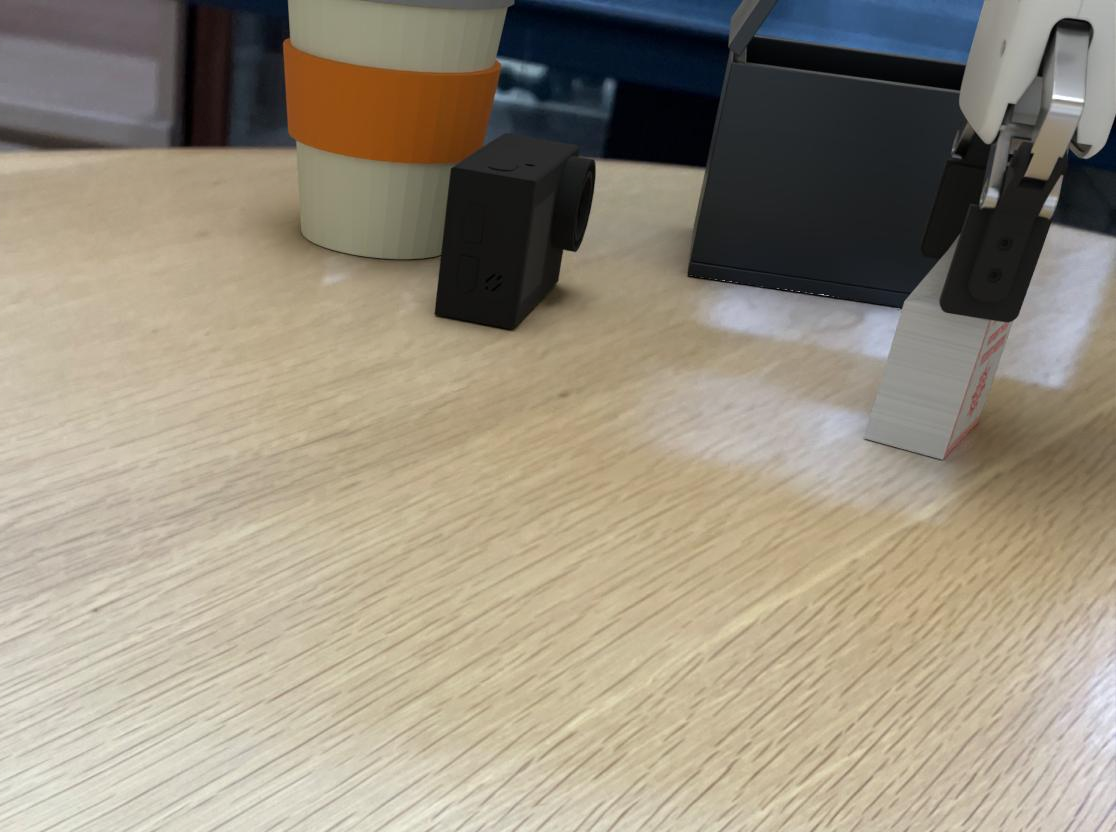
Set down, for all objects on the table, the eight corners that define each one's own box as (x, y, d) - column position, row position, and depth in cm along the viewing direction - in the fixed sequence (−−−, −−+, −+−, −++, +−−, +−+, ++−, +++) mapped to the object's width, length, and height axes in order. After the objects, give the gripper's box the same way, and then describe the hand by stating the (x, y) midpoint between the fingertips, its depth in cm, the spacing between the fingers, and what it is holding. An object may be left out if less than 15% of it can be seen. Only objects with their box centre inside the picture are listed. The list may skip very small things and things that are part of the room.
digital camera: (535, 336, 77) (559, 183, 73) (433, 316, 78) (450, 164, 74) (578, 287, 85) (602, 146, 80) (485, 270, 86) (504, 130, 81)
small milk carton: (863, 438, 69) (935, 197, 63) (903, 402, 74) (974, 174, 68) (942, 459, 68) (1024, 215, 62) (978, 421, 73) (1058, 191, 66)
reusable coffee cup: (423, 208, 96) (452, -82, 86) (522, 264, 87) (566, -50, 78) (237, 211, 91) (247, -95, 81) (323, 271, 83) (345, -63, 73)
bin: (937, 262, 97) (996, 66, 90) (957, 316, 87) (1025, 101, 80) (693, 227, 98) (733, 32, 91) (686, 276, 89) (731, 62, 82)
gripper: (1293, -191, 49) (1082, 356, 60) (1178, -196, 62) (1022, 253, 73) (1058, -221, 50) (891, 326, 61) (993, -219, 63) (866, 229, 74)
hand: (963, 286), depth 67 cm, fingers open, 9 cm apart
